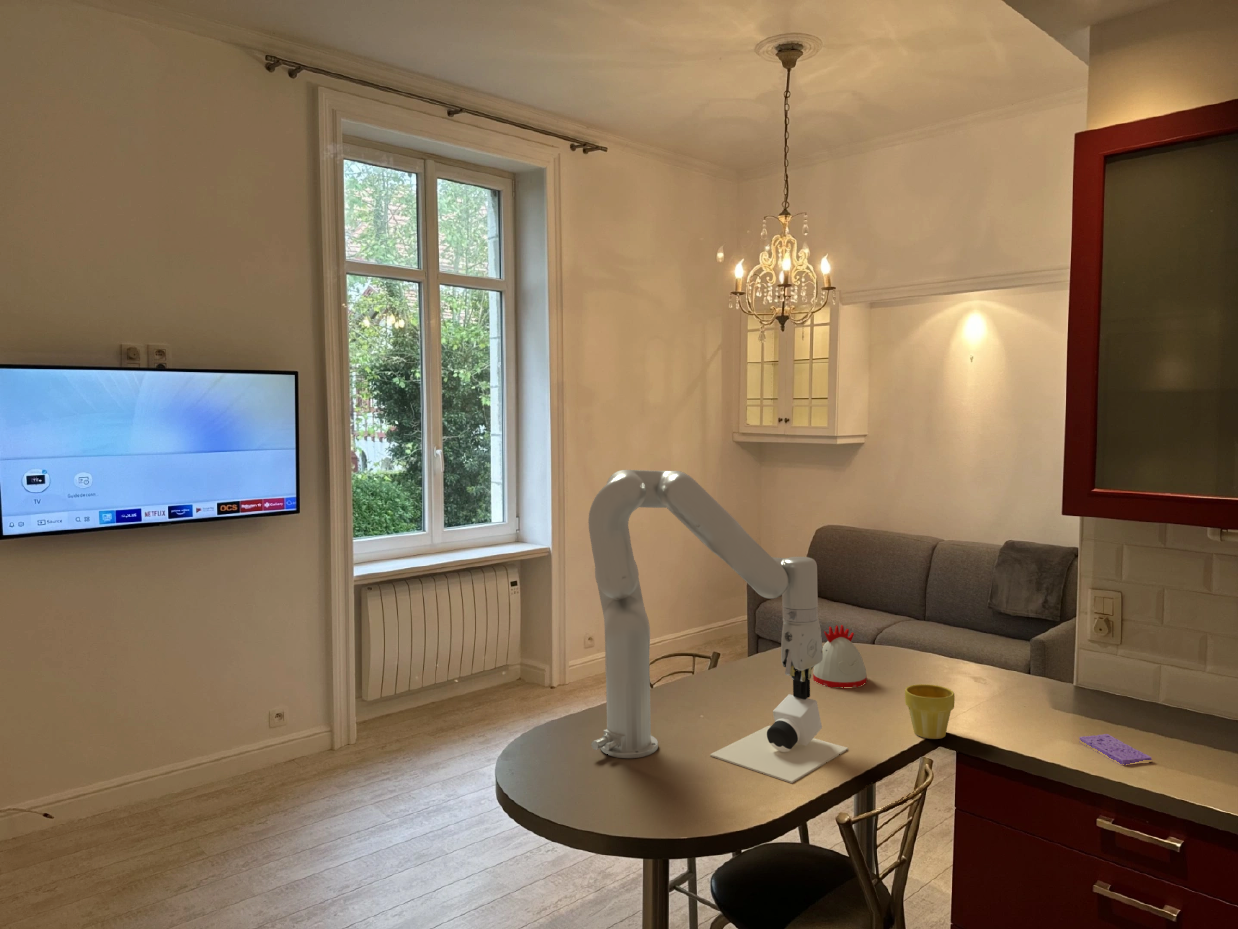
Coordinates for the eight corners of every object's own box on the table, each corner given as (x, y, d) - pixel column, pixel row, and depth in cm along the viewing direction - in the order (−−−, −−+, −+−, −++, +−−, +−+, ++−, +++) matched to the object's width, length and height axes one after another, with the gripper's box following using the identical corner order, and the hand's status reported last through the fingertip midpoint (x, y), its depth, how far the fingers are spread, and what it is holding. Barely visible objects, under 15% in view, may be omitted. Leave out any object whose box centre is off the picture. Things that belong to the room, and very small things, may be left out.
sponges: (1107, 742, 184) (1107, 733, 183) (1153, 765, 171) (1153, 756, 171) (1078, 744, 182) (1078, 736, 182) (1122, 768, 170) (1122, 759, 170)
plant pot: (910, 722, 196) (910, 680, 195) (957, 730, 191) (958, 687, 190) (900, 737, 187) (900, 694, 186) (949, 746, 182) (949, 701, 181)
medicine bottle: (788, 693, 187) (759, 723, 179) (817, 699, 182) (789, 731, 174) (794, 721, 189) (766, 752, 181) (822, 728, 184) (795, 760, 176)
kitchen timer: (805, 674, 233) (804, 620, 232) (851, 670, 236) (851, 617, 235) (826, 690, 219) (826, 633, 218) (875, 686, 222) (875, 630, 221)
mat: (791, 783, 165) (791, 781, 165) (710, 756, 179) (710, 754, 179) (848, 749, 181) (848, 748, 181) (769, 727, 195) (769, 725, 194)
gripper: (796, 623, 176) (798, 710, 177) (833, 610, 187) (834, 691, 188) (766, 618, 181) (767, 702, 182) (803, 605, 192) (805, 685, 193)
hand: (801, 697), depth 185 cm, fingers closed
